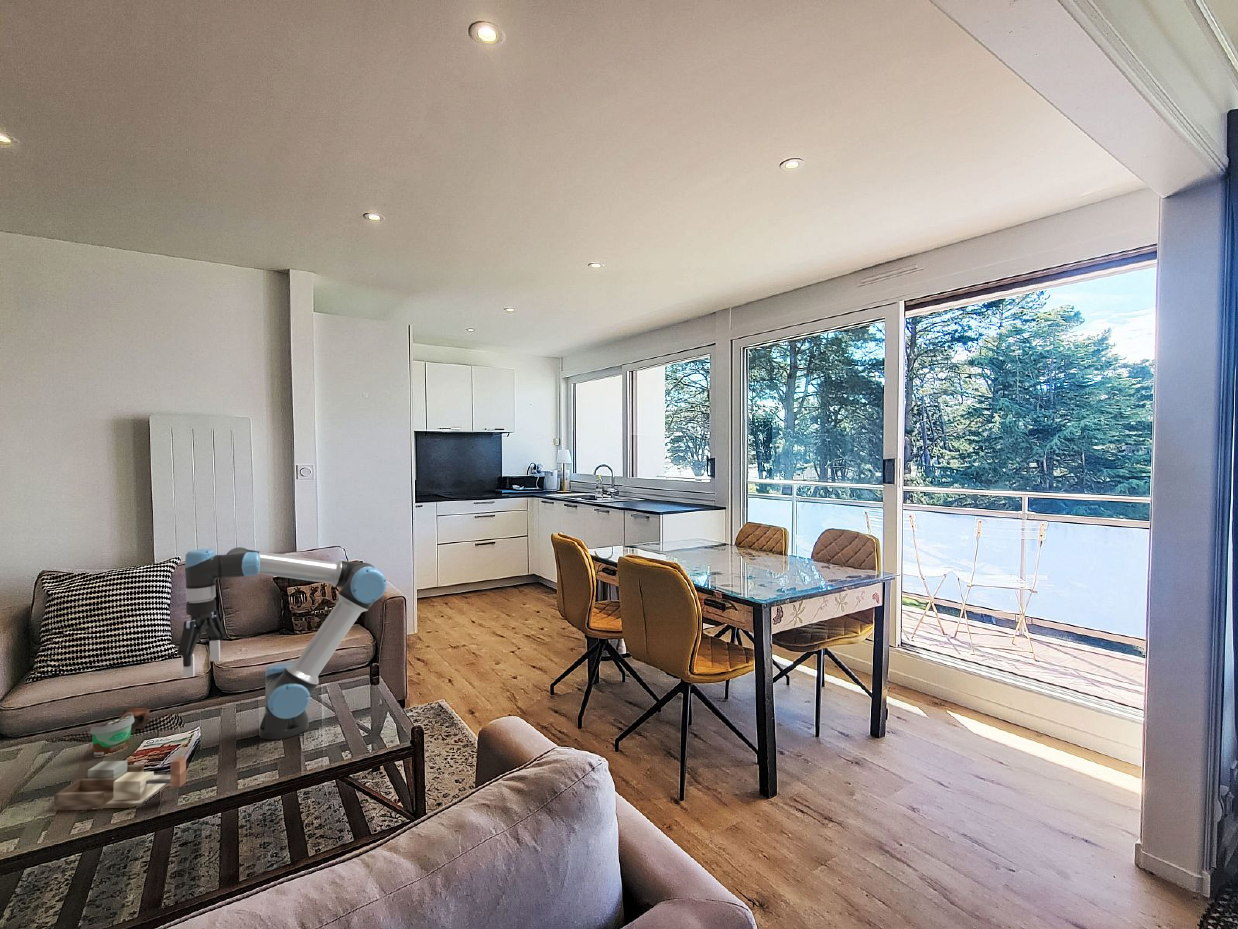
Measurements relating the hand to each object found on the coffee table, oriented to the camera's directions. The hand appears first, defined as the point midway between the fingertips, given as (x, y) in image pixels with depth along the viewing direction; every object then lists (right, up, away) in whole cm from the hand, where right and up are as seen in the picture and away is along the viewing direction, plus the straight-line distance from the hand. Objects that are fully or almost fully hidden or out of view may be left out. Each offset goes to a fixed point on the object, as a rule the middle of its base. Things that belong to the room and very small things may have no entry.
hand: (202, 668), depth 182 cm
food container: (-34, -30, +8) cm, 46 cm away
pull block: (-1, -28, -19) cm, 34 cm away
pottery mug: (-41, -30, +24) cm, 56 cm away
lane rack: (-12, -30, -16) cm, 36 cm away
